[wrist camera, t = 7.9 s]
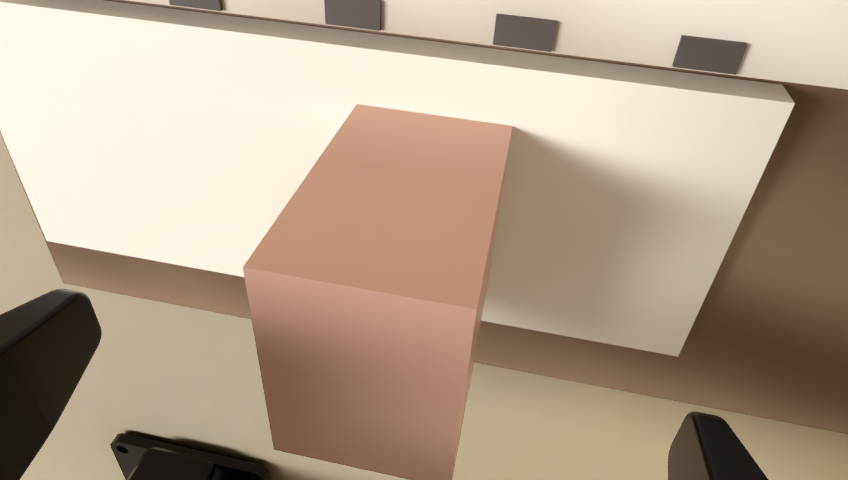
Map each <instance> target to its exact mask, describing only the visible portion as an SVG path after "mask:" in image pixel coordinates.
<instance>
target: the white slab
mask: <svg viewBox="0 0 848 480" xmlns="http://www.w3.org/2000/svg"><path fill="white" fill-rule="evenodd" d="M794 105H795V103H794V101H793V100H792V98H791V97H790V95H789V94H788V92H787V91H786V89H785V88H784V86H783V85H782V84H774V83H766V82H758V81H750V80H741V79H733V78H725V77H717V76H709V75H701V74H693V73H685V72H677V71H669V70H661V69H653V68H645V67H637V66H629V65H621V64H613V63H605V62H597V61H589V60H581V59H573V58H565V57H556V56H548V55H540V54H532V53H524V52H516V51H508V50H500V49H492V48H484V47H476V46H468V45H460V44H452V43H444V42H436V41H428V40H420V39H412V38H404V37H396V36H388V35H380V34H371V33H363V32H355V31H347V30H339V29H331V28H323V27H315V26H307V25H299V24H291V23H283V22H275V21H267V20H259V19H251V18H243V17H235V16H227V15H219V14H211V13H203V12H195V11H186V10H178V9H170V8H162V7H154V6H146V5H138V4H130V3H122V2H114V1H106V0H0V131H1V134H2V136H3V138H4V141H5V143H6V146H7V148H8V150H9V153H10V155H11V158H12V160H13V162H14V165H15V167H16V169H17V172H18V174H19V177H20V179H21V181H22V184H23V186H24V189H25V191H26V193H27V196H28V198H29V200H30V203H31V205H32V208H33V210H34V212H35V215H36V217H37V220H38V222H39V224H40V227H41V229H42V231H43V234H44V236H45V239H46V241H49V242H55V243H60V244H66V245H71V246H77V247H82V248H88V249H93V250H98V251H104V252H109V253H115V254H120V255H126V256H131V257H137V258H142V259H148V260H153V261H159V262H164V263H169V264H175V265H180V266H186V267H191V268H197V269H202V270H208V271H213V272H219V273H224V274H230V275H235V276H240V277H244V278H245V284H246V290H247V296H248V301H249V307H250V313H251V319H252V325H253V330H254V336H255V342H256V348H257V353H258V359H259V365H260V371H261V377H262V382H263V388H264V394H265V400H266V406H267V411H268V417H269V423H270V429H271V435H272V440H273V446H274V450H278V451H283V452H287V453H292V454H297V455H301V456H306V457H310V458H315V459H319V460H324V461H328V462H333V463H337V464H342V465H346V466H351V467H355V468H360V469H364V470H369V471H374V472H378V473H383V474H387V475H392V476H396V477H401V478H405V479H410V480H452V477H453V472H454V466H455V461H456V455H457V450H458V445H459V439H460V434H461V428H462V423H463V417H464V412H465V406H466V401H467V395H468V390H469V385H470V379H471V374H472V368H473V363H474V357H475V352H476V346H477V341H478V335H479V330H480V324H481V321H486V322H492V323H497V324H503V325H508V326H513V327H519V328H524V329H530V330H535V331H541V332H546V333H552V334H557V335H563V336H568V337H573V338H579V339H584V340H590V341H595V342H601V343H606V344H612V345H617V346H623V347H628V348H634V349H639V350H644V351H650V352H655V353H661V354H666V355H672V356H677V357H678V356H679V354H680V351H681V349H682V347H683V345H684V343H685V341H686V338H687V336H688V334H689V332H690V330H691V328H692V325H693V323H694V321H695V319H696V317H697V315H698V312H699V310H700V308H701V306H702V304H703V302H704V299H705V297H706V295H707V293H708V291H709V289H710V286H711V284H712V282H713V280H714V278H715V276H716V274H717V271H718V269H719V267H720V265H721V263H722V261H723V258H724V256H725V254H726V252H727V250H728V248H729V245H730V243H731V241H732V239H733V237H734V235H735V232H736V230H737V228H738V226H739V224H740V222H741V219H742V217H743V215H744V213H745V211H746V209H747V206H748V204H749V202H750V200H751V198H752V196H753V193H754V191H755V189H756V187H757V185H758V183H759V180H760V178H761V176H762V174H763V172H764V170H765V167H766V165H767V163H768V161H769V159H770V157H771V154H772V152H773V150H774V148H775V146H776V144H777V142H778V139H779V137H780V135H781V133H782V131H783V129H784V126H785V124H786V122H787V120H788V118H789V116H790V113H791V111H792V109H793V107H794Z"/></svg>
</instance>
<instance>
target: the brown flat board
mask: <svg viewBox="0 0 848 480" xmlns="http://www.w3.org/2000/svg"><path fill="white" fill-rule="evenodd" d="M106 1H114V2H122V3H130V4H138V5H146V6H154V7H162V8H170V9H178V10H186V11H195V12H203V13H211V14H219V15H227V16H235V17H243V18H251V19H259V20H267V21H275V22H283V23H291V24H299V25H307V26H315V27H323V28H331V29H339V30H347V31H355V32H363V33H371V34H380V35H388V36H396V37H404V38H412V39H420V40H428V41H436V42H444V43H452V44H460V45H468V46H476V47H484V48H492V49H500V50H508V51H516V52H524V53H532V54H540V55H548V56H556V57H565V58H573V59H581V60H589V61H597V62H605V63H613V64H621V65H629V66H637V67H645V68H653V69H661V70H669V71H677V72H685V73H693V74H701V75H709V76H717V77H725V78H733V79H741V80H750V81H758V82H766V83H774V84H782V85H783V86H784V88H785V89H786V91H787V92H788V94H789V95H790V97H791V98H792V100H793V101H794V103H795V105H794V107H793V109H792V111H791V113H790V116H789V118H788V120H787V122H786V124H785V126H784V129H783V131H782V133H781V135H780V137H779V139H778V142H777V144H776V146H775V148H774V150H773V152H772V154H771V157H770V159H769V161H768V163H767V165H766V167H765V170H764V172H763V174H762V176H761V178H760V180H759V183H758V185H757V187H756V189H755V191H754V193H753V196H752V198H751V200H750V202H749V204H748V206H747V209H746V211H745V213H744V215H743V217H742V219H741V222H740V224H739V226H738V228H737V230H736V232H735V235H734V237H733V239H732V241H731V243H730V245H729V248H728V250H727V252H726V254H725V256H724V258H723V261H722V263H721V265H720V267H719V269H718V271H717V274H716V276H715V278H714V280H713V282H712V284H711V286H710V289H709V291H708V293H707V295H706V297H705V299H704V302H703V304H702V306H701V308H700V310H699V312H698V315H697V317H696V319H695V321H694V323H693V325H692V328H691V330H690V332H689V334H688V336H687V338H686V341H685V343H684V345H683V347H682V349H681V351H680V354H679V356H678V357H677V356H672V355H666V354H661V353H655V352H650V351H644V350H639V349H634V348H628V347H623V346H617V345H612V344H606V343H601V342H595V341H590V340H584V339H579V338H573V337H568V336H563V335H557V334H552V333H546V332H541V331H535V330H530V329H524V328H519V327H513V326H508V325H503V324H497V323H492V322H486V321H481V324H480V330H479V335H478V341H477V346H476V352H475V357H474V362H476V363H481V364H486V365H492V366H497V367H502V368H507V369H512V370H518V371H523V372H528V373H533V374H538V375H544V376H549V377H554V378H559V379H564V380H570V381H575V382H580V383H585V384H590V385H596V386H601V387H606V388H611V389H616V390H622V391H627V392H632V393H637V394H642V395H648V396H653V397H658V398H663V399H668V400H674V401H679V402H684V403H689V404H694V405H700V406H705V407H710V408H715V409H720V410H726V411H731V412H736V413H741V414H746V415H752V416H757V417H762V418H767V419H772V420H778V421H783V422H788V423H793V424H798V425H803V426H809V427H814V428H819V429H824V430H829V431H835V432H840V433H845V434H848V0H106ZM0 134H1V131H0ZM1 136H2V134H1ZM2 139H3V141H4V138H3V136H2ZM4 143H5V141H4ZM5 146H6V143H5ZM6 148H7V146H6ZM7 150H8V148H7ZM8 153H9V150H8ZM9 155H10V153H9ZM10 158H11V155H10ZM11 160H12V158H11ZM12 162H13V160H12ZM13 165H14V162H13ZM14 167H15V165H14ZM15 170H16V172H17V169H16V167H15ZM17 174H18V172H17ZM18 177H19V174H18ZM19 179H20V177H19ZM20 181H21V179H20ZM21 184H22V181H21ZM22 186H23V184H22ZM23 189H24V186H23ZM24 191H25V189H24ZM25 193H26V191H25ZM26 196H27V193H26ZM27 198H28V196H27ZM28 200H29V198H28ZM29 203H30V200H29ZM30 205H31V203H30ZM31 208H32V205H31ZM32 210H33V208H32ZM33 212H34V210H33ZM34 215H35V212H34ZM35 217H36V215H35ZM36 219H37V217H36ZM37 222H38V220H37ZM38 224H39V222H38ZM39 227H40V224H39ZM40 229H41V227H40ZM41 231H42V229H41ZM42 234H43V231H42ZM43 236H44V234H43ZM44 239H45V236H44ZM45 241H46V239H45ZM46 243H47V246H48V248H49V250H50V253H51V255H52V258H53V260H54V262H55V265H56V267H57V269H58V272H59V274H60V277H61V279H62V281H63V283H65V284H71V285H76V286H81V287H86V288H91V289H97V290H102V291H107V292H112V293H117V294H123V295H128V296H133V297H138V298H143V299H149V300H154V301H159V302H164V303H169V304H175V305H180V306H185V307H190V308H195V309H201V310H206V311H211V312H216V313H221V314H227V315H232V316H237V317H242V318H247V319H251V313H250V307H249V301H248V296H247V290H246V284H245V278H244V277H240V276H235V275H230V274H224V273H219V272H213V271H208V270H202V269H197V268H191V267H186V266H180V265H175V264H169V263H164V262H159V261H153V260H148V259H142V258H137V257H131V256H126V255H120V254H115V253H109V252H104V251H98V250H93V249H88V248H82V247H77V246H71V245H66V244H60V243H55V242H49V241H46Z"/></svg>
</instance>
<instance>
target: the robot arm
mask: <svg viewBox="0 0 848 480" xmlns="http://www.w3.org/2000/svg"><path fill="white" fill-rule="evenodd" d="M100 339H101V327H100V324H99V322H98V319H97V317H96V314H95V312H94V309H93V307H92V304H91V302H90V299H89V298H88V296H87V295H86V294H84V293H82V292H78V291H73V290H68V289H56V290H53V291H51V292H49V293H46V294H44V295H42V296H40V297H38V298H36V299H33V300H31V301H29V302H27V303H25V304H23V305H20V306H18V307H16V308H14V309H12V310H10V311H8V312H5V313H3V314H1V315H0V480H20V478H21V477H22V475H23V474H24V472H25V471H26V469H27V468H28V467H29V465H30V464H31V462H32V461H33V459H34V458H35V456H36V455H37V453H38V452H39V450H40V449H41V447H42V446H43V444H44V443H45V441H46V439H47V438H48V436H49V435H50V433H51V432H52V430H53V428H54V426H55V425H56V423H57V421H58V420H59V418H60V416H61V414H62V412H63V410H64V409H65V407H66V405H67V403H68V401H69V399H70V397H71V396H72V394H73V392H74V390H75V388H76V386H77V384H78V383H79V381H80V379H81V377H82V375H83V373H84V371H85V370H86V368H87V366H88V364H89V362H90V360H91V358H92V356H93V355H94V353H95V351H96V349H97V347H98V345H99V343H100ZM111 448H112V450H113V453H114V455H115V457H116V459H117V461H118V464H119V466H120V468H121V470H122V472H123V474H124V477H125V479H126V480H270V478H269V473H268V471H267V469H266V468H265V467H263V466H261V465H260V464H257V463H253V462H249V461H244V460H240V459H235V458H231V457H226V456H222V455H217V454H213V453H209V452H204V451H200V450H195V449H191V448H186V447H182V446H177V445H173V444H168V443H164V442H160V441H155V440H151V439H146V438H142V437H137V436H133V435H128V434H123V433H120V434H118V435H117V436H116V437H115V439H114V440H113V442H112V443H111ZM668 480H768V479H767V477H766V476H765V475H764V473H763V472H762V470H761V469H760V468H759V466H758V465H757V464H756V462H755V461H754V459H753V458H752V457H751V455H750V454H749V453H748V451H747V450H746V448H745V447H744V446H743V444H742V443H741V442H740V440H739V439H738V437H737V436H736V435H735V433H734V432H733V431H732V429H731V428H730V426H729V425H728V424H727V422H726V421H725V420H723V419H722V418H721V417H719V416H715V415H710V414H705V413H700V412H690V413H689V414H688V415H687V416H686V417H685V419H684V421H683V423H682V425H681V427H680V429H679V431H678V433H677V435H676V437H675V438H674V440H673V442H672V444H671V447H670V450H669V456H668Z"/></svg>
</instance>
